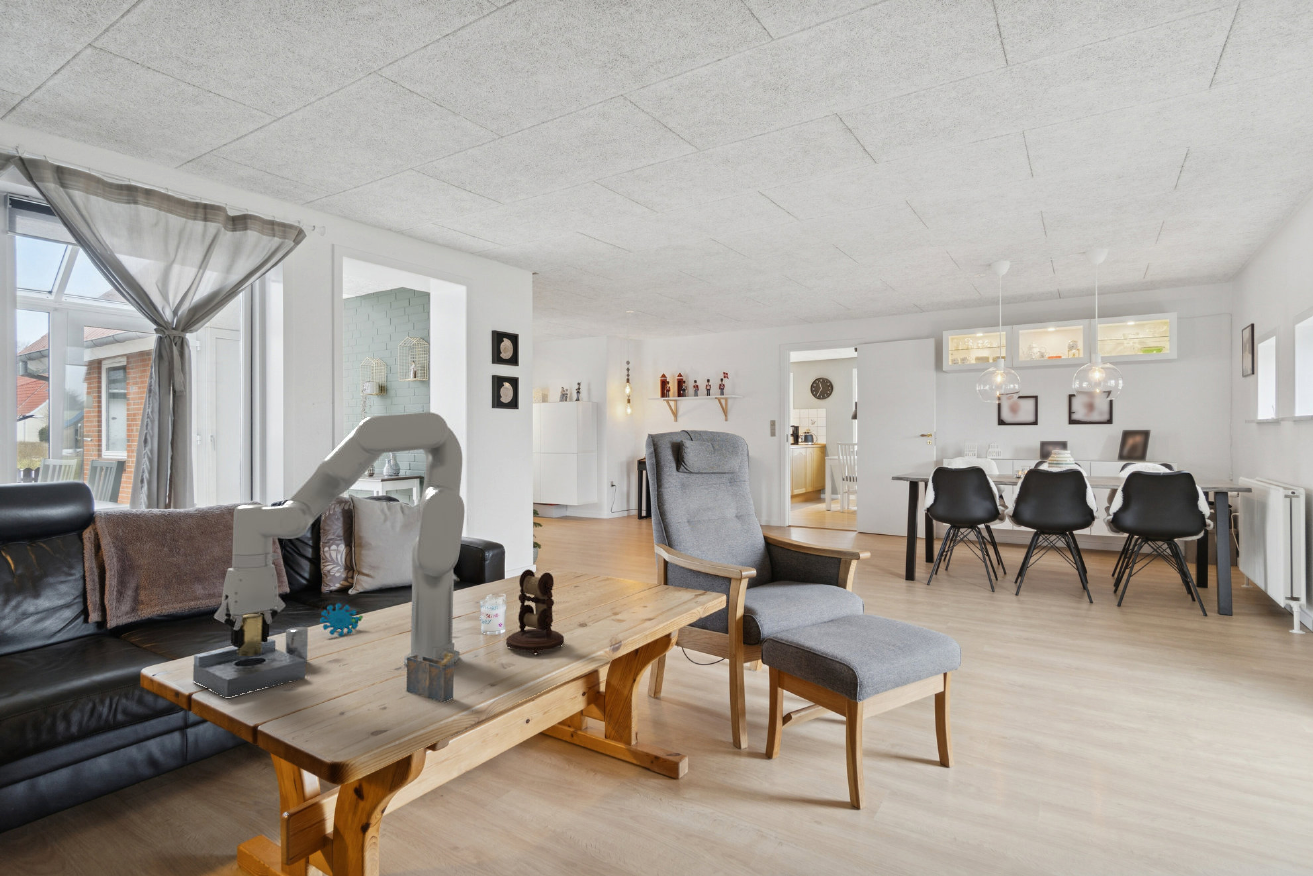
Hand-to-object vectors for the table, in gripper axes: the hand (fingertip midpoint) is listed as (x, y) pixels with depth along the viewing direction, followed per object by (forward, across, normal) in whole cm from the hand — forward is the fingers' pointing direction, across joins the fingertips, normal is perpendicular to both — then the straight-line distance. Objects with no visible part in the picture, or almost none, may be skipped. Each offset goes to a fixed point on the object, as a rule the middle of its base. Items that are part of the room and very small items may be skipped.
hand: (250, 643), depth 151 cm
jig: (+8, 0, 0) cm, 8 cm away
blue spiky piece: (+8, -33, -20) cm, 39 cm away
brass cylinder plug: (+2, 0, 0) cm, 2 cm away
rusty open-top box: (+9, -19, +38) cm, 43 cm away
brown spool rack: (+8, -56, +32) cm, 65 cm away
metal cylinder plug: (+8, -12, -3) cm, 15 cm away
